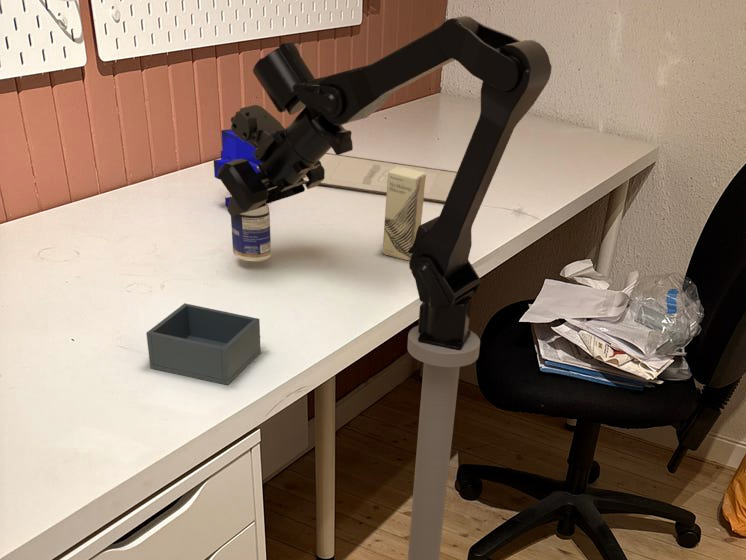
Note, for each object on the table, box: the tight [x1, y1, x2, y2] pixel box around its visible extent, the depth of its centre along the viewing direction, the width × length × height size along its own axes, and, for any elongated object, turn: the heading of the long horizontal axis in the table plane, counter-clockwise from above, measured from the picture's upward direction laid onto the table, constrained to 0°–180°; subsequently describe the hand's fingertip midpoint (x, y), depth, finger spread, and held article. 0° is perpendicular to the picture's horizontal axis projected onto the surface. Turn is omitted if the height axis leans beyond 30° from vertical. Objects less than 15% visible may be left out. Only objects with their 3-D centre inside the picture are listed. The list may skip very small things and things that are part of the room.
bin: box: [146, 302, 261, 386], centre depth 120 cm, size 10×10×5 cm
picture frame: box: [302, 152, 458, 203], centre depth 189 cm, size 22×1×30 cm
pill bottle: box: [230, 202, 272, 262], centre depth 143 cm, size 6×6×10 cm
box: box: [382, 166, 426, 261], centre depth 154 cm, size 5×4×13 cm
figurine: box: [213, 128, 261, 208], centre depth 162 cm, size 8×8×12 cm
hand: (242, 208), depth 142 cm, fingers closed on pill bottle, 6 cm apart
